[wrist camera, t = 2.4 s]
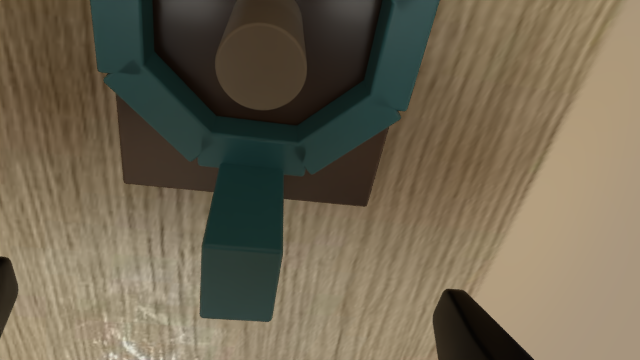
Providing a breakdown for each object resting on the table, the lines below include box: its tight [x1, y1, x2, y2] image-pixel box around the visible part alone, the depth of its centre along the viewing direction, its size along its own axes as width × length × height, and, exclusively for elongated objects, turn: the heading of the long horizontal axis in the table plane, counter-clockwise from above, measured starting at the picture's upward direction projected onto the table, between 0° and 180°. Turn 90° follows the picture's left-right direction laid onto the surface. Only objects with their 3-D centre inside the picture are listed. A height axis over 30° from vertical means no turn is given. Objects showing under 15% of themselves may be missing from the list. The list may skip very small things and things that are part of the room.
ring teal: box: [90, 0, 440, 322], centre depth 9 cm, size 9×7×4 cm
